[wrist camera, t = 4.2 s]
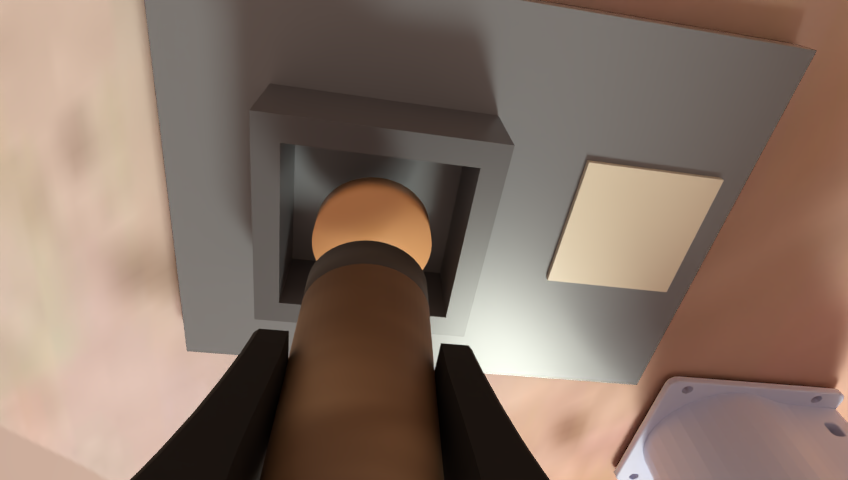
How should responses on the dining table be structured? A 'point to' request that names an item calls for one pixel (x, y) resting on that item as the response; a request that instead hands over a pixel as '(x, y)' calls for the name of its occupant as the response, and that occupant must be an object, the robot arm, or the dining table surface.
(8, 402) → the dining table surface
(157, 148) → the dining table surface
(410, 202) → the breaker button
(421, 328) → the brown cylinder
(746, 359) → the dining table surface
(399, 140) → the switch panel
